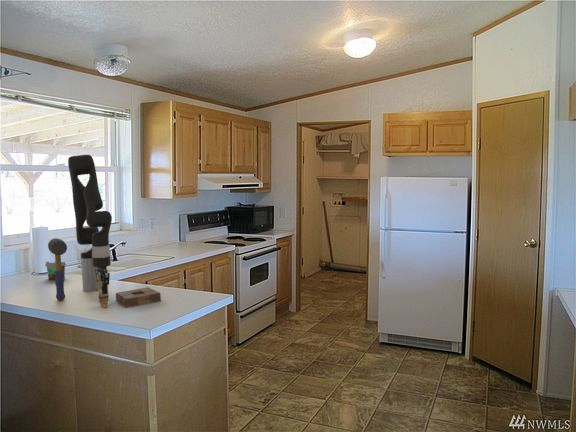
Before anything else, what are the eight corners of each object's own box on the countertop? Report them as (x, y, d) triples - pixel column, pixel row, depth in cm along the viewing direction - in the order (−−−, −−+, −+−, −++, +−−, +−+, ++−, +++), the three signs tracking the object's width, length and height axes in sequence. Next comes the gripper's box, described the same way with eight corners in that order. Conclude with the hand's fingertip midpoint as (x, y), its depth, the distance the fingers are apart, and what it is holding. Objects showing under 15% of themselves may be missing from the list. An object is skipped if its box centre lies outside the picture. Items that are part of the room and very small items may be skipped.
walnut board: (116, 301, 224) (115, 292, 224) (148, 295, 234) (148, 287, 234) (127, 307, 212) (126, 299, 212) (160, 301, 222) (160, 292, 222)
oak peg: (97, 306, 214) (96, 275, 212) (107, 304, 216) (105, 274, 215) (100, 308, 210) (98, 277, 209) (110, 306, 213) (108, 276, 211)
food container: (41, 280, 274) (39, 263, 273) (48, 277, 280) (47, 261, 279) (59, 280, 271) (58, 263, 270) (66, 278, 277) (65, 261, 276)
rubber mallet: (50, 298, 231) (46, 238, 228) (67, 296, 235) (63, 236, 232) (54, 304, 221) (49, 241, 218) (71, 301, 225) (67, 239, 222)
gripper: (87, 254, 214) (90, 291, 216) (97, 258, 203) (99, 297, 205) (104, 252, 219) (106, 288, 220) (114, 256, 208) (117, 294, 209)
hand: (103, 292), depth 213 cm, fingers closed on oak peg, 4 cm apart
